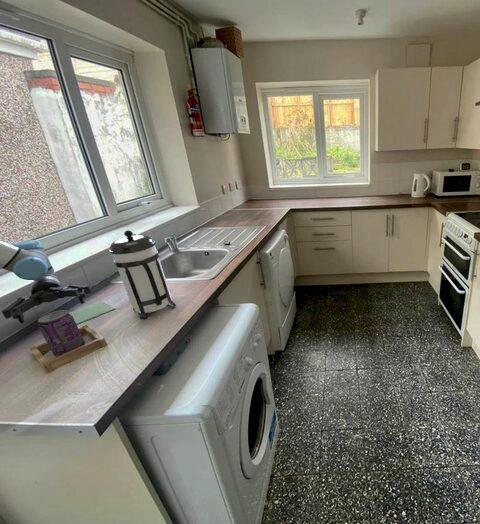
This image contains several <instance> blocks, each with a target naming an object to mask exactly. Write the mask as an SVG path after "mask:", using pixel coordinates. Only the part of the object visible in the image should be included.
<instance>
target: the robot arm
mask: <svg viewBox="0 0 480 524" xmlns="http://www.w3.org/2000/svg"><path fill="white" fill-rule="evenodd" d="M0 269H3V270H5V271H8V272H11V273H13V274H14V275H15V276H16V277H17V278H19V279H22V280H26V281H27V280H34V282H33V283H32V285H31V288H30V287H29V289H30V295H29V297H26V298H25V297H22V296H20V297H17V298H16V300H15V301H13V302H12V303H11V304H10V305H8V306H7V307H5V308H4V309H3V310H2V311H1V313H2V315H3V317H4V318H5V319H10V318H12V319H13V320H18V322H19V323H20V324H25V315H24V313H26V312H28V311H29V310H31V309H33V308H35V307H37V306H41V305H42V304H44V303H52V302H55V301H57V300H58V299H65V298H69V297H71V298H72V297H77V298H78V301H79V302H80V304H81V305H82V304H85V301H84V298H86V297H87V295H86V294H91V293H92V290H91V288H90V286H89V285H83V284H74V283H73V282H71V283H68V285H67V286H66V287H64V286H62V284H61V282H60V279H59V280H58V278H59V276H58V275H57V276H58V277H57V276H55V275H53V273H54V271H55V268H54V267H53V265H52V263H51V261H50V259H49V256H48V255H47V252H46V250H45V247H44V246H43V244H42V242H41V241H40V240H38V239H30V240H23V241H19V242H15V243H12V244H11V243H9V242H7V241H6V242H5V241H3V240H0Z"/></svg>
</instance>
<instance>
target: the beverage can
mask: <svg viewBox="0 0 480 524" xmlns="http://www.w3.org/2000/svg"><path fill="white" fill-rule="evenodd" d="M69 313H70V312H69V311H68V310H66V309H60V310H55V311H51V312H48V313H45V314H44V315H41V317H39V318H38V319H37V322H38V330H39V331H40V333H41V334H42V336H43V338H44V340H45V342H47V344H48V345H49V347H50V349H51V350H50V351H51V353H52V354H53V356H55V357H58V356H60V355H63V354H65V353H67V352H69V351H71V350H74V349H76V348H78V347H80V346H82V345H85V344H86V341H85V339H84V336H82V335H81V332H80V330H79V328H80V327H79V326H78V324H76V322H75V320H74V318H73V316H72V315H71V314H69Z"/></svg>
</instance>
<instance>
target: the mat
mask: <svg viewBox="0 0 480 524" xmlns="http://www.w3.org/2000/svg"><path fill="white" fill-rule="evenodd" d="M114 310H116V308H115V307H114V306H112V305H110V304H108V303H107V302H105V301H103V300H100V301H97V302H95V303H92V304H89V305H86V306H84V307H81V308H78V309H76V310H73V311H71V312H68V313H69V314H71V315H72V316H73V318H74V320H75V322H76V324H77V325H80V324H82V323H85V322H87V321H89V320H92V319H95V318H97V317H99V316H102V315H105V314H107V313H109V312H112V311H114Z"/></svg>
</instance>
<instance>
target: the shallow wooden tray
mask: <svg viewBox="0 0 480 524" xmlns="http://www.w3.org/2000/svg"><path fill="white" fill-rule="evenodd" d="M78 328H79V330H80V332H81V335H82V337H85V336H86V335H87V336H88V337H90V339H92V341H89V342H87V343H85V344H84V345H82V346H80V347H78V348H76V349H74V350H71V351H69V352H67V353H65V354H63V355H60V356H55V357H54V358H51V359H50V360H47V358H46V357H45V356H44V355H43V354H45V353H48V352H50V351H51V349H50V347H49V345H48V344H47V342H46V341H45V342H43V343H40V344H38V345H36V346H35V345H34V346H31V347H29V351H30V352H31V355H32V356H33V357H34V358H35V360H36V361H37V362H38V364H39V365H40V366H41V367H42V368H43V369H44V371H45V372H46V373H47V374H49V373H51V372H54V370H56V369H59V368H60V367H62V366H64V365H67V364H69V363H71V362H73V361H75V360H77V359H79V358H81V357H83V356H86V355H87V354H90V353H92V352H93V351H96V350H98V349H100V348H104V347H106V346H108V344H107V341H106V339H105V338H104V337H103V336H102V335H100V333H98V332H97V331H96V330H94V329H93V328H91V327H90V326H89V325H87V324H85V325H83V326H81V327H78Z"/></svg>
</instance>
